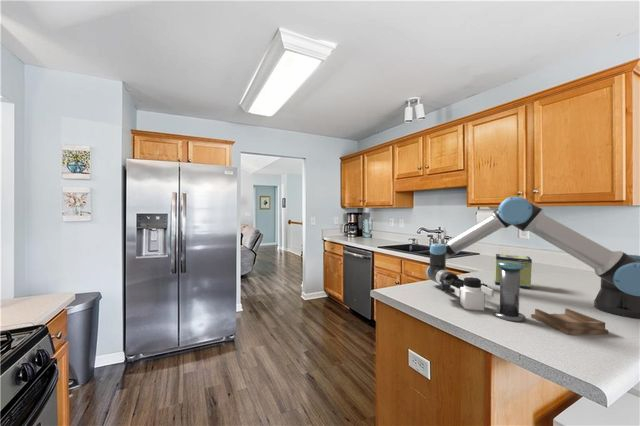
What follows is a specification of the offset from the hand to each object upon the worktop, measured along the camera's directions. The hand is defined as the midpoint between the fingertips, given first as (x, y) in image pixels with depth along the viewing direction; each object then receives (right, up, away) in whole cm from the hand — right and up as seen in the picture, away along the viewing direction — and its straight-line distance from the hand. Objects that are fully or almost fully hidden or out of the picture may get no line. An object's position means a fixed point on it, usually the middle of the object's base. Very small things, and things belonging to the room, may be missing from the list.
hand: (476, 293), depth 108 cm
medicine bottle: (0, -7, +3) cm, 7 cm away
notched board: (+24, -7, -13) cm, 28 cm away
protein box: (+41, -7, +38) cm, 57 cm away
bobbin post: (+8, -7, -6) cm, 13 cm away
